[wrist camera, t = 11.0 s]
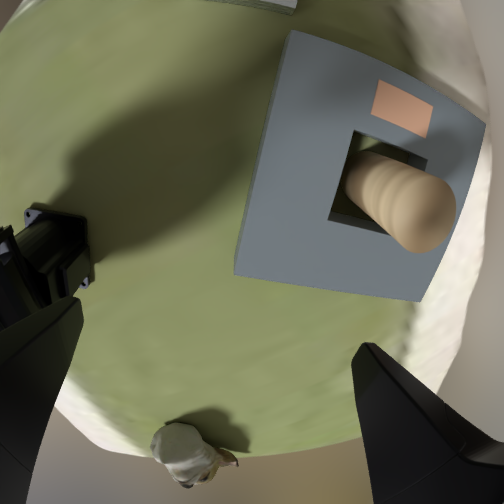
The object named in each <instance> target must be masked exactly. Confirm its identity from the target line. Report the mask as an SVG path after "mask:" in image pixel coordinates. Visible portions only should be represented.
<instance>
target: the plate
mask: <svg viewBox="0 0 504 504" xmlns="http://www.w3.org/2000/svg"><path fill="white" fill-rule="evenodd" d="M207 1H216V2H225V3H232V4H239V5H245V6H251V7H256V8H261V9H266V10H271V11H275V12H279V13H283V14H287V15H292V13H293V12H294V10H295V8H296V4H297V0H207Z"/></svg>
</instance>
